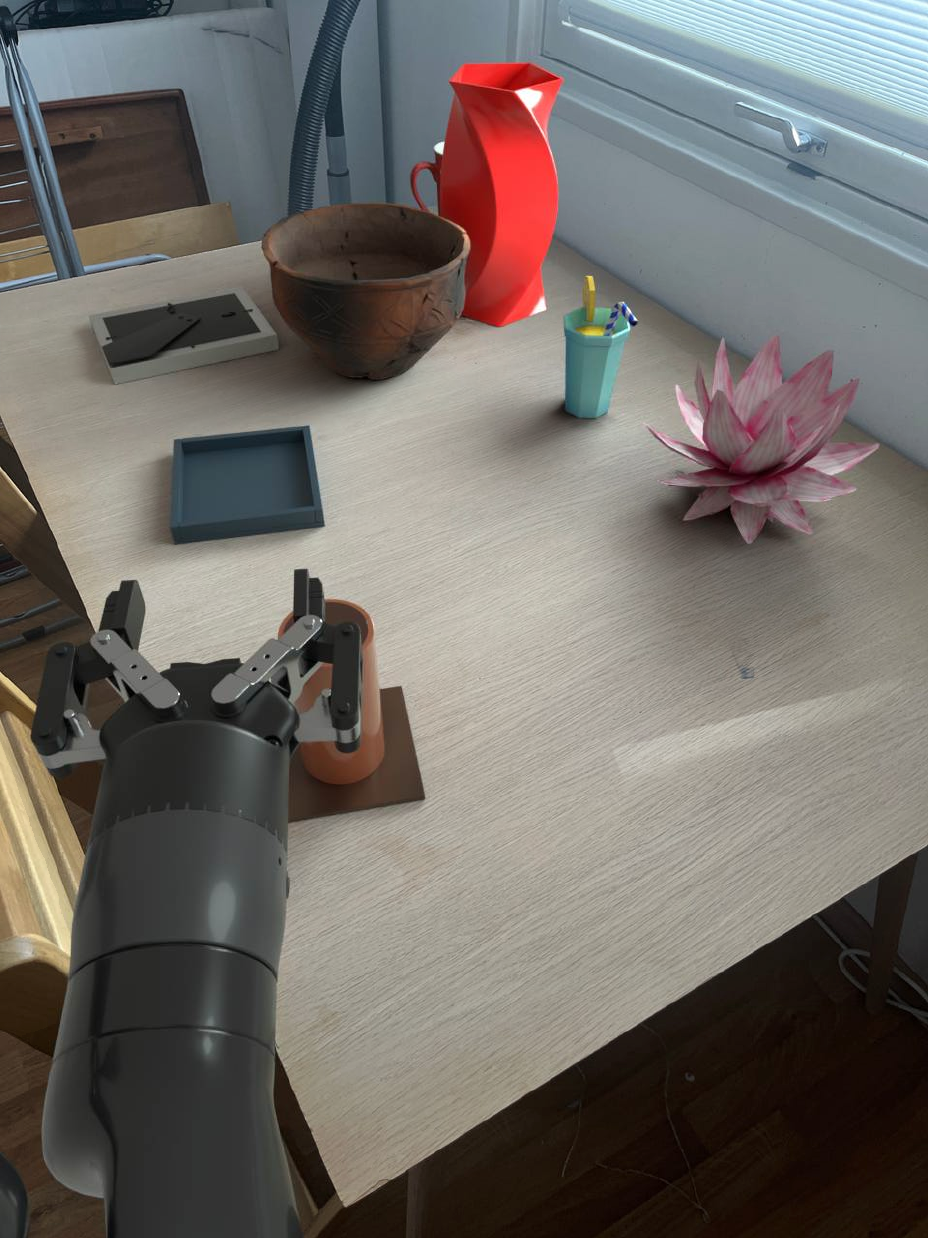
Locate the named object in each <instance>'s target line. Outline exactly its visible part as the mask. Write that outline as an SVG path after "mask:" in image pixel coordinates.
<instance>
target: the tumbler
mask: <svg viewBox="0 0 928 1238" xmlns="http://www.w3.org/2000/svg"><path fill="white" fill-rule="evenodd" d="M324 600H325V622H326V623H327V624H329V625H332V626H338V625H339V624H341V623H343V622H354V623H356V624H357V625H358V626H359V627H360V633H361V643H362V654H363V700H362V736H361V746H360V747H359V749H358V750H356V751H355V752H352V753H342V752H340V751H338V750H337V749H336V747H335V743H334V741H321V742H300V744H299V748H300V753H301V758H302V762H303V765H304V767H305V768H306V770H307V771H308V772H309V773H310V774H311V775H312V776H313V777H315V778H316V779H318V780H320V781H322V782H325V783H329V784H335V785H343V784H350V783H354V782H357V781H360V780H362V779H364V778H366V777H367V776H369V775H370V774H372V773H373V772H374V771H375V770H376V769H377V767H378V766H379V765H380V763H381V761H382V759H383V757H384V753H385V742H384V731H383V719H382V708H381V697H380V689H381V687H380V677H379V664H378V652H377V642H376V632H375V631H376V629H375V624H374V621H373V619H372V617H371V615H370V614H369V613H368V611H366V609H364V608H363V607H361V606H360V605H358V604H356V603H355V602H351V601H348V600H344V599H338V598H326V599H325V598H324ZM293 625H294V619H293V610H292V611H291V612H290V613H288V615H286V617H284V619H283V621H282V622H281V623H280V625H279V628H278V631H277V640H278V639H279V638H280V637H281V636H282V635H283V634H284V633H285V632H286V631H287V630H288V629H289V628H291V627H292V626H293ZM332 667H333V664H329V663H323V664H322V665H321V666H320V668H319V669H318V670H317V671H316V672H315V673H314V674H313V675H312V676H311V677H310V678H309V679H308V680H307V681H306V682H305V684H304V685H303V688H302V692H301V694H300V696H299V697H298V699H297V700H296V701H295V702H294V703H293V705H294V706H295V708H296V709H297V711H298V713H305V712H307V711H309V710H310V709H311V708H312V707H313V706H314V703H315V700H316V698H317V697H318V696H320V695H321V691H322V690H323V689H326V688H328V689H331V683H332Z"/></svg>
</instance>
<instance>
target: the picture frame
mask: <svg viewBox="0 0 928 1238" xmlns="http://www.w3.org/2000/svg"><path fill="white" fill-rule="evenodd" d="M88 319H89V323H90V326H91V328H92V331H93V334H94V336H95V339H96V341H97V344H98V346H99V348H100V351H101V354H102V356H103V358H104V361H105V364H106V366H107V368H108V369H107V370H108V371H109V372H110V376H111V378H112V381H113V383H114V385H119V384H124V383H128V382H135V381H139V380H143V379H148V378H153V377H157V376H161V375H165V374H171V373H176V372H180V371H185V370H189V369H194V368H199V367H205V366H209V365H213V364H218V363H222V362H227V361H232V360H237V359H241V358H242V359H243V358H246V357H251V356H255V355H260V354H265V353H269V352H270V353H271V352H274V351H275V352H276V351H279V350H280V346H279V340H278V334H277V333H276V331H275V330H274V328H273V327H272V326H271V324H270V323H269V321H268V320H267V318H266V317H265V316H264V314H263V313H262V312H261V310H260V309H259V308H258V306H257V305H256V303H255V302H254V300H253V299H252V298H251V295H249V293H248V292H247V291H246V289H245V288H244V287H243V286H238V287H233V288H232V287H231V288H227V289H221V290H216V291H209V292H205V293H200V294H195V295H190V296H189V295H188V296H184V297H179V298H173V299H168V300H163V301H156V302H151V303H146V304H142V305H136V306H130V307H124V308H120V309H113V310H109V311H103V312H98V313H93V314H88Z"/></svg>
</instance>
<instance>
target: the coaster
mask: <svg viewBox="0 0 928 1238" xmlns="http://www.w3.org/2000/svg"><path fill="white" fill-rule="evenodd" d="M380 697H381V708H382V719H383V731H384V742H385V753H384V757H383V759H382V761H381V763H380V765H379V766H378V767H377V769H376V770H375V771H374V772H373V773H372V774H370V775H369V776H367V777H366V778H364V779H362V780H360V781H357V782H354V783H350V784H343V785H335V784H329V783H325V782H322V781H320V780H318V779H316V778H315V777H313V776H312V775H311V774H310V773H309V772H308V771H307V770H306V768H305V767H304V765H303V762H302V758H301V753H300V748H299V746H298V747H297V749H296V750H295V751H294V753H293V755H292V757H291V760H290V766H289V807H288V823H293V822H299V821H300V822H301V821H305V820H312V819H316V818H323V817H329V816H334V815H340V814H345V813H351V812H357V811H363V810H368V809H375V808H380V807H386V806H393V805H398V804H403V803H404V804H405V803H411V802H415V801H421V800H425V799H426V793H425V788H424V783H423V779H422V773H421V770H420V769H421V768H420V764H419V760H418V754H417V751H416V745H415V740H414V736H413V731H412V727H411V721H410V717H409V713H408V708H407V703H406V699H405V694H404V689H403V686H402V685H398V686H397V685H396V686H391V687H385V688H380Z"/></svg>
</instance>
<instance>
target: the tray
mask: <svg viewBox="0 0 928 1238" xmlns="http://www.w3.org/2000/svg"><path fill="white" fill-rule="evenodd" d="M172 451H173V454H172V472H171V473H172V476H171V497H170V499H171V500H170V518H169V519H170V520H169V529H170V532H171V533H170V534H171V536H172V539H173V543H174V545H181V544H189V543H198V542H205V541H213V540H222V539H231V538H238V537H248V536H254V535H264V534H271V533H280V532H287V531H296V530H303V529H304V530H305V529H312V528H322V527H325V526H326V523H325V516H324V510H323V502H322V497H321V496H322V495H321V489H320V484H319V477H318V476H319V475H318V472H317V471H318V470H317V465H316V458H315V451H314V446H313V439H312V431H311V427H310V425H309V424H308V425H307V424H306V425H297V426H288V427H279V428H269V429H260V430H250V431H240V432H231V433H223V434H222V433H221V434H212V435H202V436H193V437H192V436H191V437H183V438H176V439H175V438H174V439H173V450H172Z"/></svg>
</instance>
